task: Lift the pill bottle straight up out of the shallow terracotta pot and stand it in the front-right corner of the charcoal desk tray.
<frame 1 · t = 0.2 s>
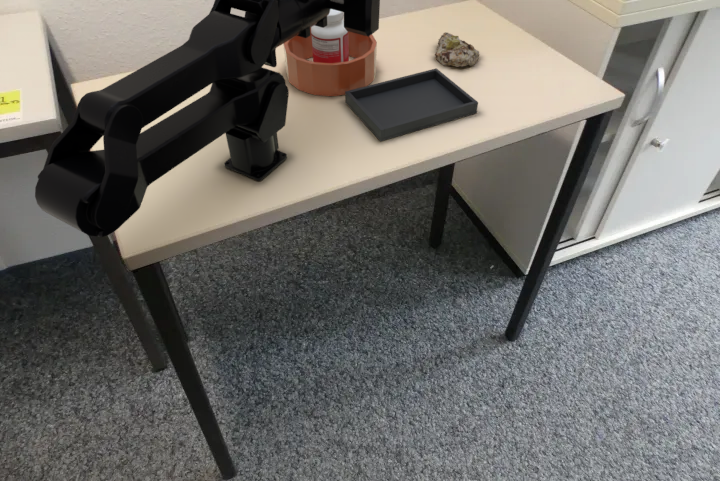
pot: (331, 73, 92), on the table
pill bottle: (331, 74, 92), resting in pot
mineral rock: (454, 57, 97), on the table
tray: (409, 107, 84), on the table
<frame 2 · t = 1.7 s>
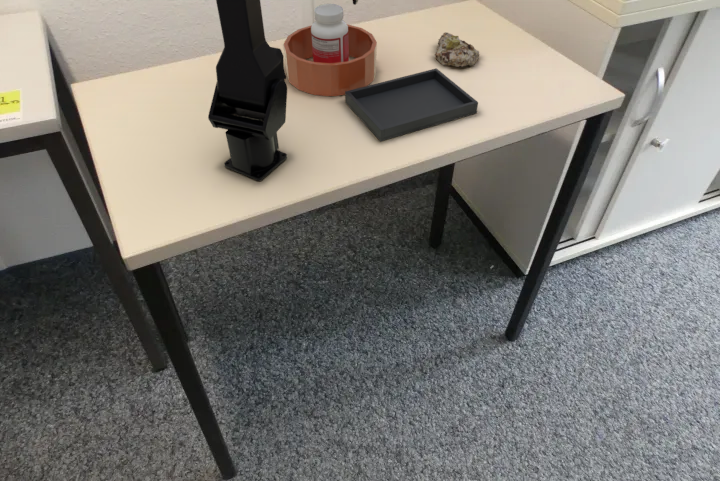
nothing on the table moved.
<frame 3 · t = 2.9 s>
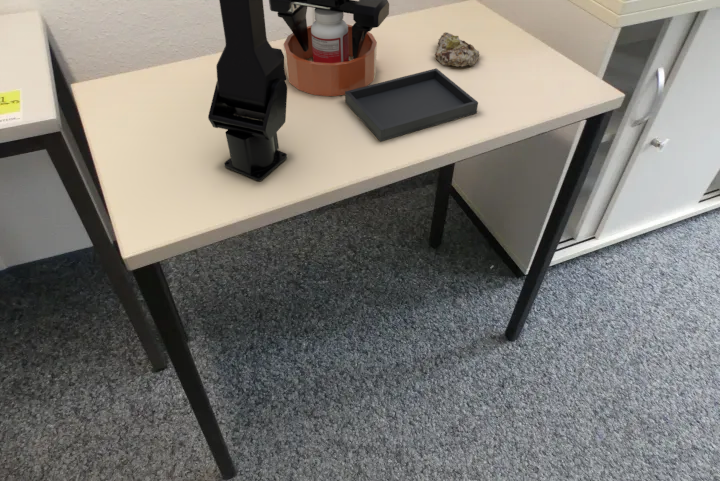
hand: (330, 55, 90), 3 cm above the table, tool pointing down
pill bottle: (331, 74, 92), resting in pot, touching gripper
everything else where it was.
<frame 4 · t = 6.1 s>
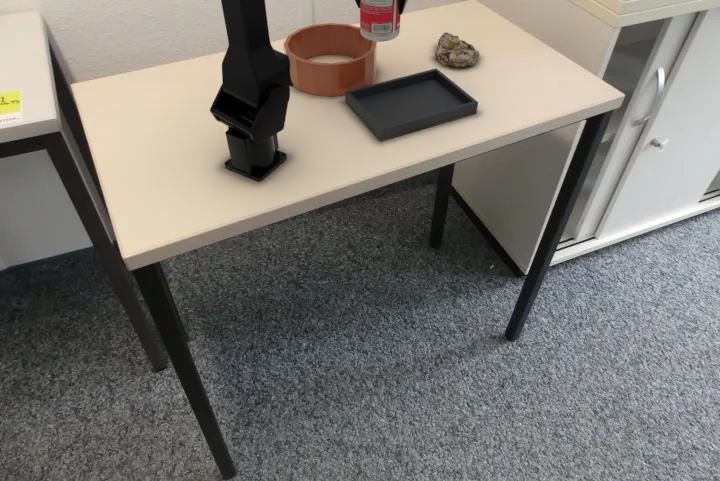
hand: (380, 10, 80), 13 cm above the table, tool pointing down, fingers closed on pill bottle, 6 cm apart
pill bottle: (379, 35, 82), point 9 cm above the table, touching gripper
everything else where it was.
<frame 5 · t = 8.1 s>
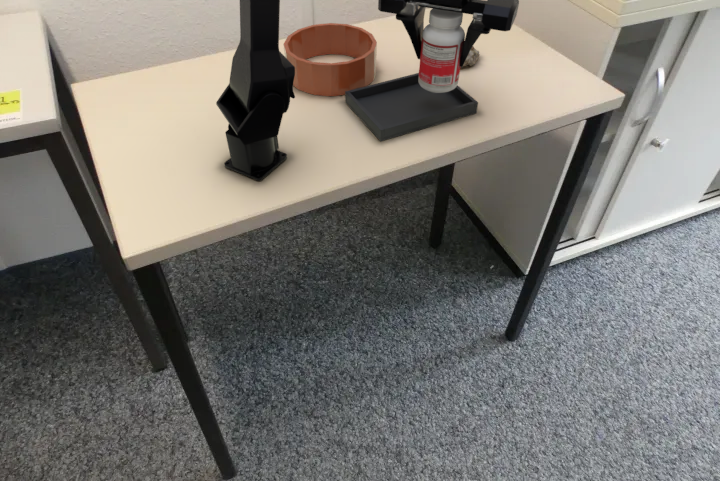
hand: (440, 61, 79), 8 cm above the table, tool pointing down, fingers closed on pill bottle, 6 cm apart
pill bottle: (437, 85, 82), point 4 cm above the table, touching gripper
everything else where it was.
when the fingers open (4 cm above the table, at t = 9.4 s): pill bottle stays where it is, resting on tray.
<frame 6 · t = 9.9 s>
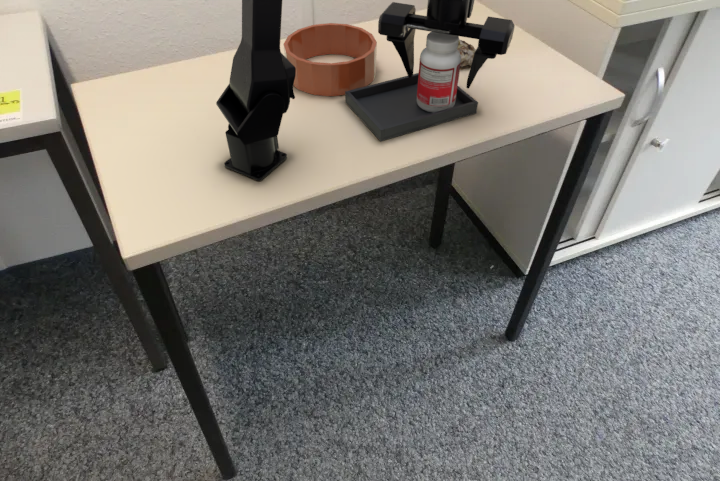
hand: (439, 81, 82), 4 cm above the table, tool pointing down, fingers open, 9 cm apart
pill bottle: (435, 105, 84), resting on tray
everything else where it was.
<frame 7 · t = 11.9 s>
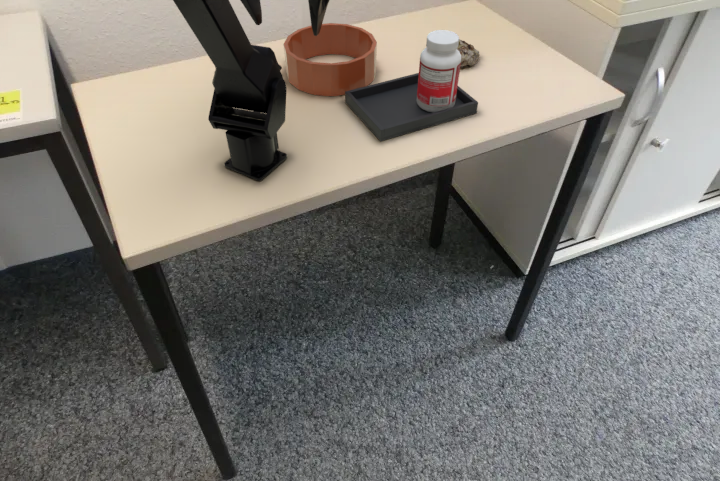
hand: (287, 29, 75), 13 cm above the table, tool pointing down, fingers open, 9 cm apart
nothing on the table moved.
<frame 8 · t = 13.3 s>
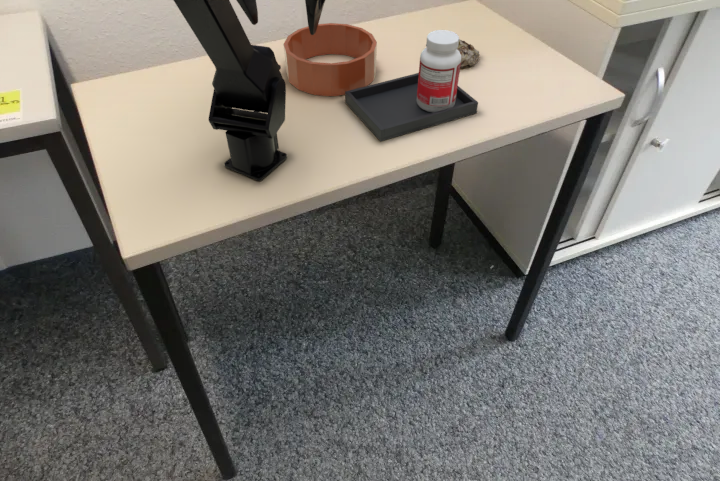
hand: (283, 28, 75), 13 cm above the table, tool pointing down, fingers open, 9 cm apart
nothing on the table moved.
at the end: pill bottle inside the target area in the tray (0.4 cm from its centre), point 0.3 cm above the tray's base; pill bottle tilted 0°; the gripper is holding nothing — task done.
